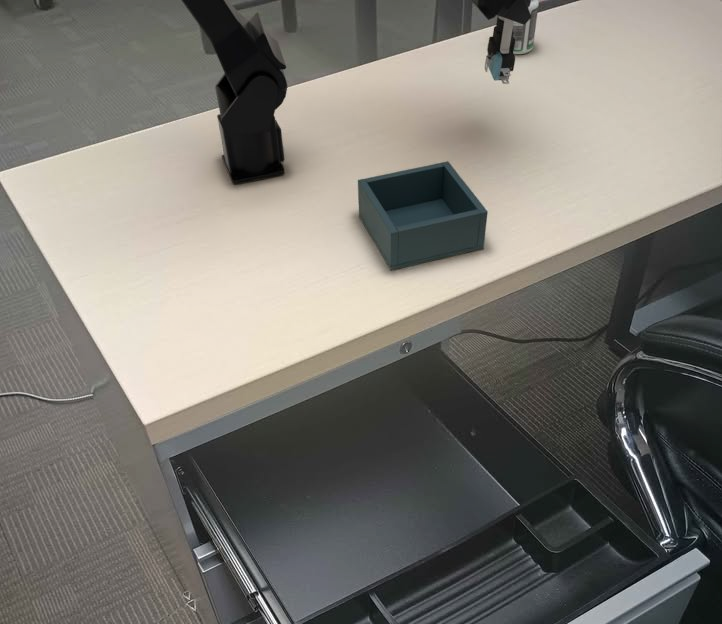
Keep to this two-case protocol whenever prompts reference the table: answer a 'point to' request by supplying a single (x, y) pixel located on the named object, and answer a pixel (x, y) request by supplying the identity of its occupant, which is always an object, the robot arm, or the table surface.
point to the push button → (501, 50)
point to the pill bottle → (526, 31)
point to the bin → (421, 215)
